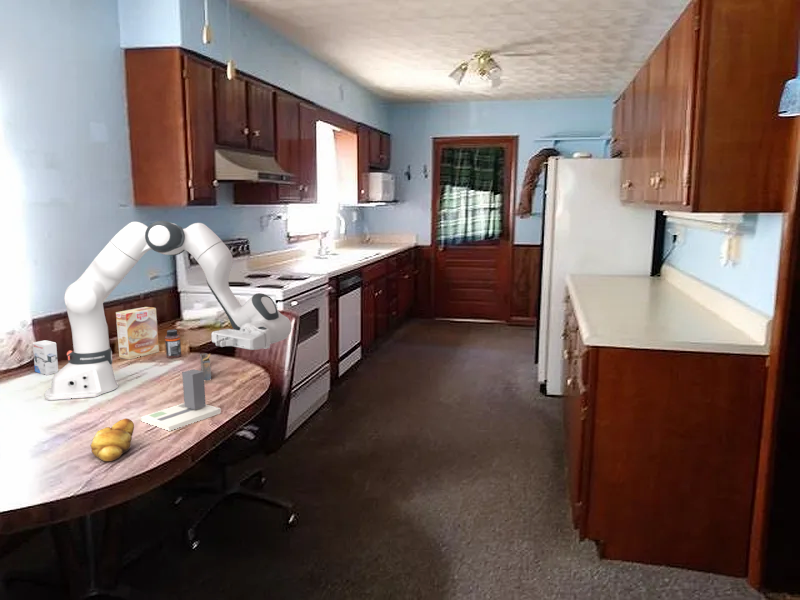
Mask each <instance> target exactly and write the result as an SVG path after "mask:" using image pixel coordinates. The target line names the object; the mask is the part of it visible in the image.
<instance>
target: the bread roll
mask: <svg viewBox="0 0 800 600" xmlns="http://www.w3.org/2000/svg"><path fill="white" fill-rule="evenodd" d="M134 429H135V422H134V421H132V419H130V418H127V417H126V418H123V419H121V420H120V419H119V420H118V421H117V422H116V423H114V424H112V426H111V427H110V426H108V427H107V426H106V427H105V428H102V429H100V430H97V432H95V435H94V436H93V439H92V440H91V441H92V442H91V444H90V449H91V452H92V454H93V455H94V456H95V457H97V458H99V459H100V460H101V461H103V462H112V461H115V460H118V459H119V458H120V457H121V456H122V455H123V454H125V453H127V452H128V451H129V450H130V448H131V446H132V444H131V443H132V439H133V437H132V436H133V433H134Z"/></svg>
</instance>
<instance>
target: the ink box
mask: <svg viewBox="0 0 800 600" xmlns="http://www.w3.org/2000/svg"><path fill="white" fill-rule="evenodd" d="M57 350H58V349H57V343H56V342H55V341H51V340H46V339H45V340H39V341H35V342H34V341H33V342H32V352H33V361H34V372H35V373H39V374H40V375H44V374H45V376H49V375H53V373H54V374H56V373H57V372H58V371H59V362H58V351H57Z"/></svg>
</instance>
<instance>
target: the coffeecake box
mask: <svg viewBox="0 0 800 600" xmlns="http://www.w3.org/2000/svg"><path fill="white" fill-rule="evenodd" d="M115 318H116V330H117V331H116V332H117V342H118V345H117V346H118V355H119V356H118V357H119V358H120V359H125V360H133V359H138V358H140V356H141V357H144V356H148V355H153V354H156V353H159V352H160V346H159V334H158V333H159V331H158V320H157V319H158V317H157V308H156V307H152V306H151V307H150V306H144V307H136V308H132V309H126V310H122V311H121V310H120V311H116V312H115ZM137 357H138V358H137Z"/></svg>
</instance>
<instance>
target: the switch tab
mask: <svg viewBox="0 0 800 600" xmlns="http://www.w3.org/2000/svg"><path fill="white" fill-rule="evenodd" d="M181 375H182V376H181V377H182V387H183V403H184V405H185V407H187V408H191V409H194V410H196V409H199V408H202V407H204V406H206V403H207V402H206V392H205V391H206V389H205V388H206V387H205V381H204V372H203V371H201V370H198V369H193V368H192V369H188V370H185V371H182V374H181Z"/></svg>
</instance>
